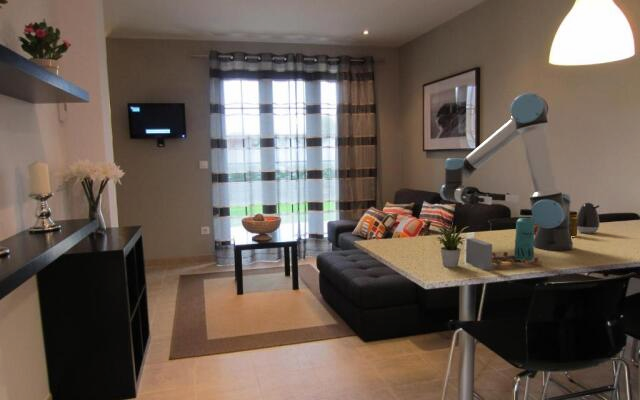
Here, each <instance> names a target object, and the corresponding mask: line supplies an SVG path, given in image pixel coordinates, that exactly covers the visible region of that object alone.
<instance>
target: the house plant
mask: <svg viewBox="0 0 640 400" xmlns="http://www.w3.org/2000/svg"><path fill="white" fill-rule="evenodd" d="M432 225H433V226H434V227H435V231H436V232H437V233H439V235H440V236H441V237H440V236H438V237H436V238H434V239H435V240H437V242H438V241H439V245H441V244H443V246H441V247H440V254H441V255H440V256H441V260H442V266H443V267H447V268H457V267H458V266H459V263H460V257H461V256H460V255H461V250H462V248H461V247H458V246H459V245H460V244H461V245H463V244H464V243H463V242H464V241H465V242H466V240H463V239H465V237H462V236H460V234H461V233H462V232H463V231H465V230H466V229H467V228H469V226H464V227H463V228H462V229H460V231H458V232H457V225H455V226H454V227H453V225H454V222H452V224H451V226H450V229H449V230H448V229H447V226H446V225H445V224H444V223H443V222H442V223H441V227H439V226H437V225H436V224H433V223H432ZM437 228H438V229H439V230H437ZM456 232H457V233H456Z"/></svg>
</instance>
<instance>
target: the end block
mask: <svg viewBox="0 0 640 400" xmlns="http://www.w3.org/2000/svg"><path fill="white" fill-rule="evenodd" d="M465 239H466V240H465V242H466V243H465V245H466V246H465V263H466V264H469V265H471V266H474V267H475V268H478V269H480V270H483V271H491V270H492V264H493V263H492V253H493V244H492V243H489V242H487V241H483V240H480V239H479V238H475V237H470V238H468V237H465Z"/></svg>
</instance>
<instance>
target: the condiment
mask: <svg viewBox="0 0 640 400" xmlns="http://www.w3.org/2000/svg"><path fill="white" fill-rule="evenodd" d="M577 215H578V211H574V210H570V214H569V232H570V236H577V235H578V229H577V226H578V217H577Z"/></svg>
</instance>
